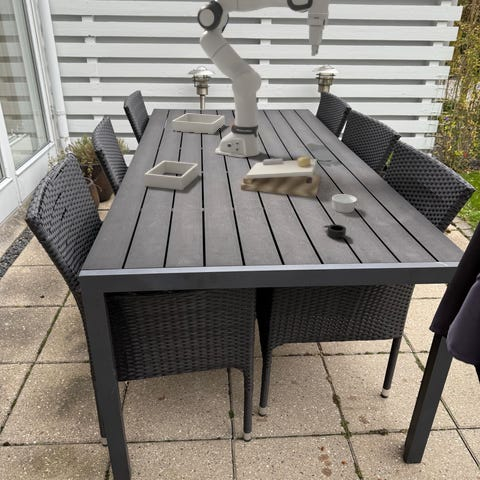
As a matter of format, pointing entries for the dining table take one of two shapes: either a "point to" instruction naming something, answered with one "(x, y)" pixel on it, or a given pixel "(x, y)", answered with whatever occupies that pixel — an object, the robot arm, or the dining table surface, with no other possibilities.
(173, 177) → the frame
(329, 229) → the duct tape
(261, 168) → the plate
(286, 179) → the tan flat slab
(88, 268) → the dining table surface
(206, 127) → the white square tray
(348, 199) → the ramekin
